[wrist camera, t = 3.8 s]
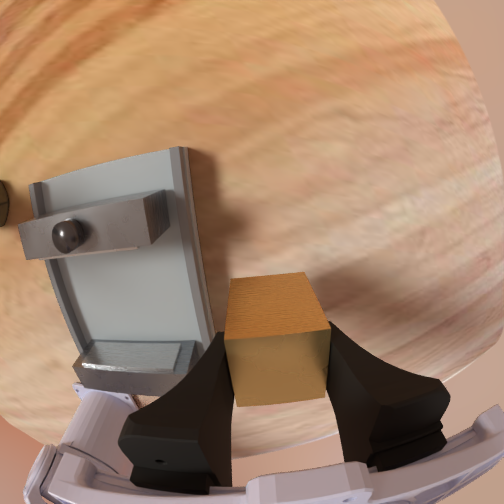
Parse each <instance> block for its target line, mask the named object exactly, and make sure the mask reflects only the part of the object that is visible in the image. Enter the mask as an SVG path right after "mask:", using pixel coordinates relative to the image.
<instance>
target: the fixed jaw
mask: <svg viewBox="0 0 504 504" xmlns="http://www.w3.org/2000/svg"><path fill="white" fill-rule="evenodd" d="M199 359H200V357H199V353H198V349H197V345H196V341H195V340H182V341H130V340H101V339H91V340H90V342H89V343H88V345H87V346H86V347H85V349H84V350H83V352H82V353H81V354H80V356H79V357H78V359H77V360H76V362H75V363H74V364H73V366H72V367H73V369H74V370H75V372H76V374H77V376H78V378H79V379H80V381H81V383H82V385H83V386H84V388H87V389H94V390H100V391H108V392H115V393H124V394H134V395H146V396H160V397H161V396H163V395H164V394H166V393H167V392H168V391H169V390H171V389H172V388H173V387H174V386H176V385H177V384H178V383H179V382H180V381H181V380H182V379H183V378H184V377H185V376H186V375H187V374H188V373H189V372H190V370H191V369H192V368H193V367H194V366H195V364H196V363H197V362H198V361H199Z"/></svg>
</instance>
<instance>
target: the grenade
mask: <svg viewBox="0 0 504 504" xmlns="http://www.w3.org/2000/svg"><path fill="white" fill-rule="evenodd" d="M8 208H9V201H8V196H7V193H6V190H5V188H4V186H3V184H2V182H1V181H0V227H1V226H3V225H4V224H5V221H6V218H7V214H8Z"/></svg>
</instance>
